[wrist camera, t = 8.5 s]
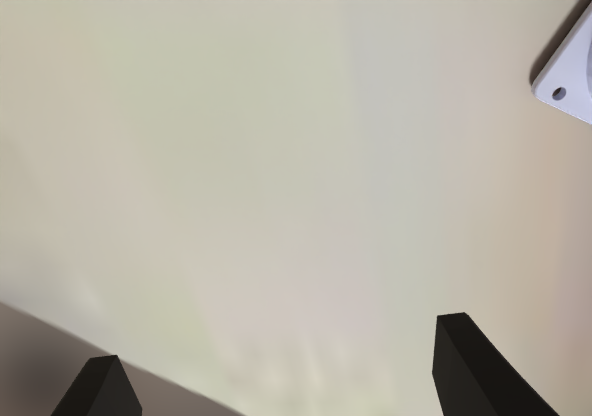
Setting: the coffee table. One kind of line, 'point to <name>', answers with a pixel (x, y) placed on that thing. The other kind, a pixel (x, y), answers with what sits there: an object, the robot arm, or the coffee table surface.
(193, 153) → the coffee table surface
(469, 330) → the robot arm
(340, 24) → the coffee table surface
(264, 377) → the coffee table surface
